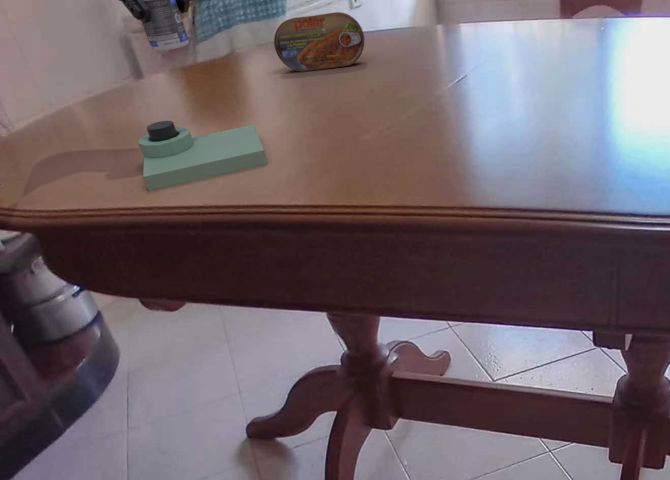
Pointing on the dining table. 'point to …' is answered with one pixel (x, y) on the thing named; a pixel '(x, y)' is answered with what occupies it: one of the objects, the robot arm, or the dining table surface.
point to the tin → (319, 41)
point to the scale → (199, 156)
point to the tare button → (161, 131)
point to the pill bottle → (165, 25)
